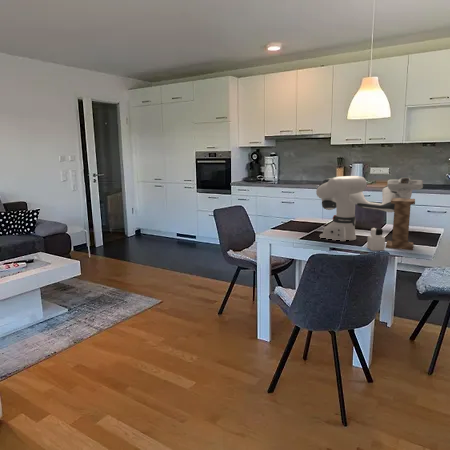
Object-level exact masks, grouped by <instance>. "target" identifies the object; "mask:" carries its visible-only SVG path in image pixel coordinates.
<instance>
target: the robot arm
mask: <svg viewBox="0 0 450 450" xmlns="http://www.w3.org/2000/svg"><path fill="white" fill-rule="evenodd" d="M401 178H402V177H400V178H399V179H388V180H387V185H386V186H384V187H383V188H382V192H381V195H382V196H381V197H382V202H381V203H380V202H372V201H368V200H367V199H366V197H365V195H364V194H365V193H363V192H365V190H366V189H367V186H368V185H367V179H366V178H365V177H363V176H360V175H344V176H339V175H338V176H334V177H330V178H325V179H324V180H322V184H321V185H319V186H318V187H317V189H316V191H315V192H316V196H317V198H319V199H321V207H322V208H323V209H324V210H327V211H332V210H336V213H335V215H333V216H332V222H330V223H328V224H327V225H326V226H325V227H324V228H323V232H322V233H320V234H319V237H320V238H319V237H318V238H319V239H321V238H326V239H325V240H328V239H332V240H331V241H336V240H340V241H339V242H346V240H349V241H354V240H355V241H356V240H357V235H356V227H355V226H356V221H357V219H356V205H357V207H359V208H360V209H364V210H365V209H367V210H374V211H381V212H385V213H394V207H395V204H393V203H391V199H392V198H406V199H412V196H413V195H412V191H413V190H415V191H416V190H417V191H418V190H421V189H423V188H424V180H422V179H411V178H410V177H408V178H409V182H408V183H401Z"/></svg>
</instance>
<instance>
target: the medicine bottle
mask: <svg viewBox="0 0 450 450" xmlns="http://www.w3.org/2000/svg"><path fill="white" fill-rule="evenodd" d="M383 231H384V230H383V228H381V227H371V229H370V235H367V240H366V241H367V243H366V248H368V249H369V250H370V251H371V252H373V251H374V252H375V251H376V252H378V251H380V252H381V251H385V248H386V237H384V236H383V234H384V233H383Z"/></svg>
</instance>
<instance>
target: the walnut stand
mask: <svg viewBox="0 0 450 450" xmlns="http://www.w3.org/2000/svg"><path fill="white" fill-rule="evenodd" d="M391 203H393V204H395V207H394V212H393V223H392V225H393V226H392V235H391V237H392V238H391V239H392V240H386V242H385V248H386V249H396V250H397V249H398V250H407V251H408V250H409V251H413V250H414V242H412V241H411V242H410V241H409V231H410V230H409V229H410V220H411V219H410V217H411V208H412V207H411V205H416V199H415V198H410V199H406V198H392V199H391Z"/></svg>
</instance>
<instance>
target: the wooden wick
mask: <svg viewBox="0 0 450 450" xmlns="http://www.w3.org/2000/svg"><path fill="white" fill-rule="evenodd" d="M400 178H401V183H408V182H409V178H410V177H400Z"/></svg>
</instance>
